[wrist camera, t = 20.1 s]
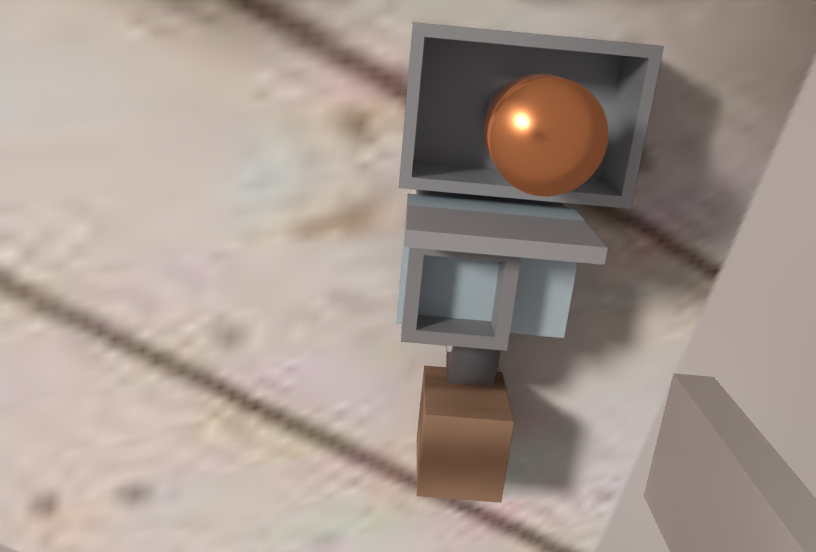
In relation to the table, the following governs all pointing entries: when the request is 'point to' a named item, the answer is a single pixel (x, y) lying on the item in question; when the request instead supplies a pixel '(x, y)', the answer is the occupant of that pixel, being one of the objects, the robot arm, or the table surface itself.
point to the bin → (504, 62)
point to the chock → (462, 438)
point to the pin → (545, 133)
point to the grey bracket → (488, 275)
